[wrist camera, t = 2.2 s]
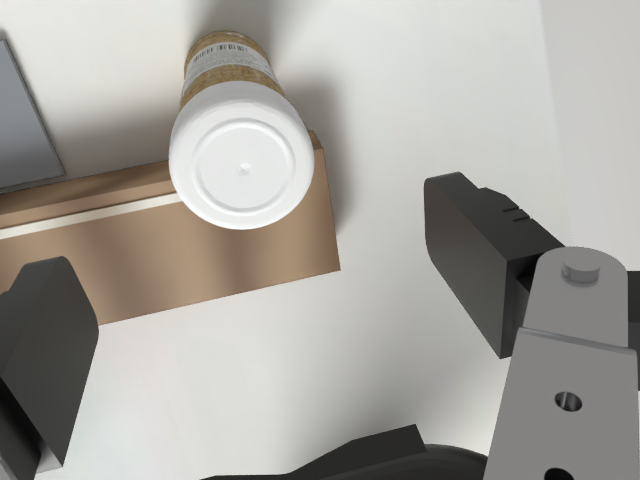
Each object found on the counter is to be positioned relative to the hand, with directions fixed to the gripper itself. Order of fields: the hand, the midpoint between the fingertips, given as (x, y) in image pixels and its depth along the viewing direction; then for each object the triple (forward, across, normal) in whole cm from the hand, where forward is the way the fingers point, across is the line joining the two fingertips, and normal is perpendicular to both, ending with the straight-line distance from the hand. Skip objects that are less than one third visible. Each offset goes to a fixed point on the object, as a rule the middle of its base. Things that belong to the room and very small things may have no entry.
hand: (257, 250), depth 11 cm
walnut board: (+18, +8, +8) cm, 21 cm away
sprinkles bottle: (+18, 0, 0) cm, 18 cm away
